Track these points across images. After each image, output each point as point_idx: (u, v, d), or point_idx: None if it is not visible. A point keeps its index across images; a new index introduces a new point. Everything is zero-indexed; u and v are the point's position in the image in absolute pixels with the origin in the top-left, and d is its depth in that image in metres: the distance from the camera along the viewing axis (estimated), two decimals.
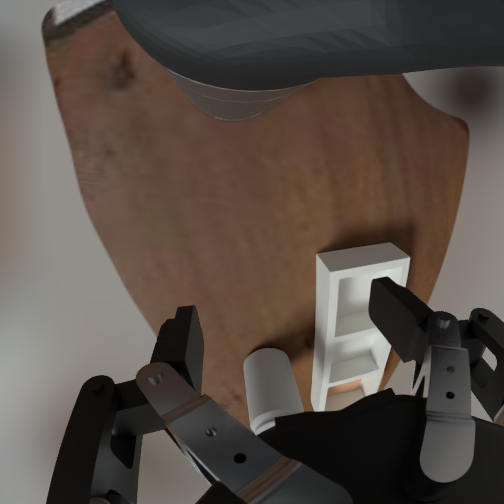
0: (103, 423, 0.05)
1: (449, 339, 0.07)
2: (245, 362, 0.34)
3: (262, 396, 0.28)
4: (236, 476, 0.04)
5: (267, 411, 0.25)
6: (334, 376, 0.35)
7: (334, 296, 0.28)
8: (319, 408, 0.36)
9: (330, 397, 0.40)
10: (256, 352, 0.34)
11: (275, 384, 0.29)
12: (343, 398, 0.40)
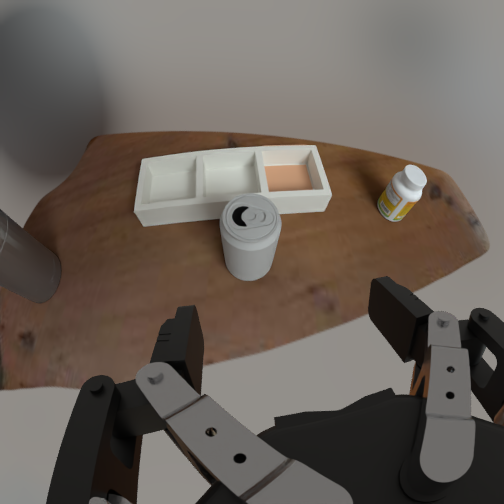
0: (103, 423, 0.05)
1: (448, 339, 0.07)
2: (237, 277, 0.36)
3: (224, 245, 0.30)
4: (236, 476, 0.04)
5: (221, 234, 0.28)
6: (260, 189, 0.39)
7: (154, 205, 0.36)
8: (308, 195, 0.37)
9: (315, 190, 0.42)
10: (227, 267, 0.36)
11: None
12: (313, 176, 0.42)
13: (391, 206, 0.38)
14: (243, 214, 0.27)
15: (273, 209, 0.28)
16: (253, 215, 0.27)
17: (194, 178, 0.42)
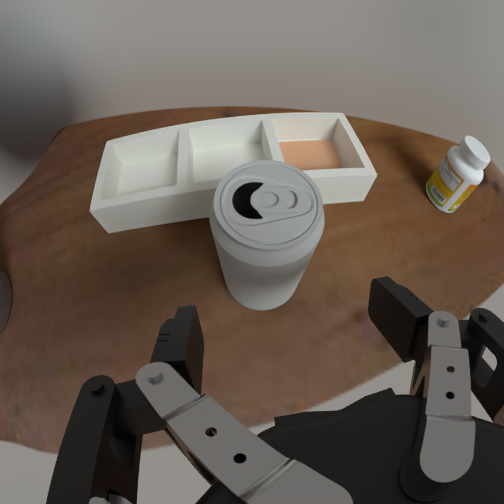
0: (103, 423, 0.05)
1: (448, 339, 0.07)
2: (246, 305, 0.22)
3: (220, 258, 0.16)
4: (236, 476, 0.04)
5: (214, 236, 0.14)
6: None
7: (116, 200, 0.23)
8: (344, 175, 0.24)
9: None
10: (229, 290, 0.23)
11: None
12: (345, 153, 0.28)
13: (448, 191, 0.25)
14: (254, 196, 0.14)
15: (309, 186, 0.14)
16: (272, 197, 0.14)
17: (178, 162, 0.29)
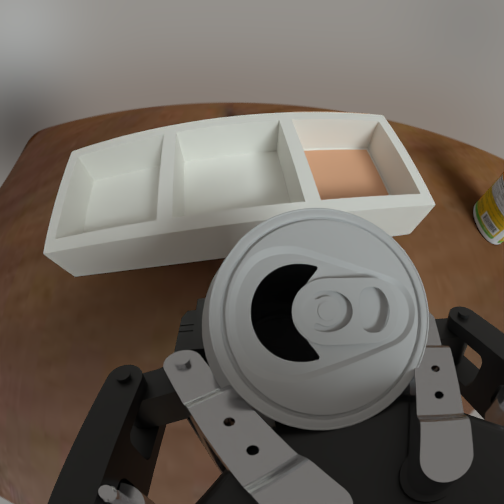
0: (126, 413, 0.06)
1: None
2: None
3: None
4: (236, 476, 0.04)
5: None
6: (298, 195, 0.18)
7: (75, 239, 0.15)
8: (397, 205, 0.16)
9: (392, 195, 0.21)
10: None
11: None
12: (387, 169, 0.21)
13: (502, 221, 0.17)
14: (299, 303, 0.06)
15: (404, 271, 0.07)
16: (339, 305, 0.06)
17: None
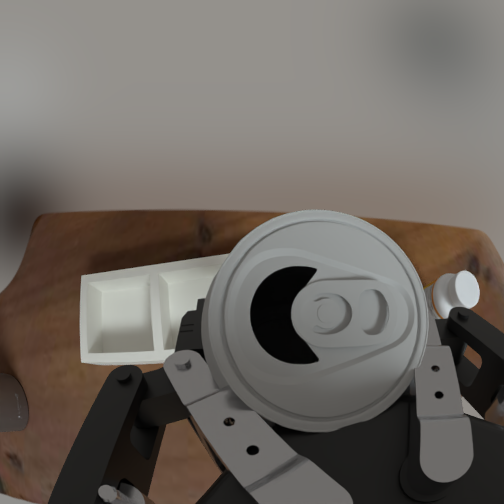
0: (126, 413, 0.06)
1: (427, 337, 0.07)
2: None
3: None
4: (236, 476, 0.04)
5: (213, 377, 0.07)
6: None
7: (103, 356, 0.24)
8: None
9: None
10: None
11: None
12: None
13: None
14: (298, 305, 0.06)
15: (403, 273, 0.07)
16: (338, 307, 0.06)
17: None
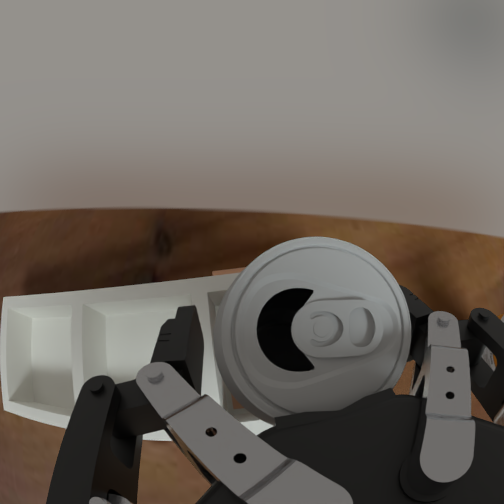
0: (103, 423, 0.05)
1: (448, 338, 0.07)
2: None
3: None
4: (236, 476, 0.04)
5: (224, 382, 0.08)
6: None
7: (23, 409, 0.12)
8: None
9: None
10: None
11: None
12: None
13: None
14: (297, 322, 0.07)
15: (390, 292, 0.08)
16: (331, 323, 0.07)
17: None
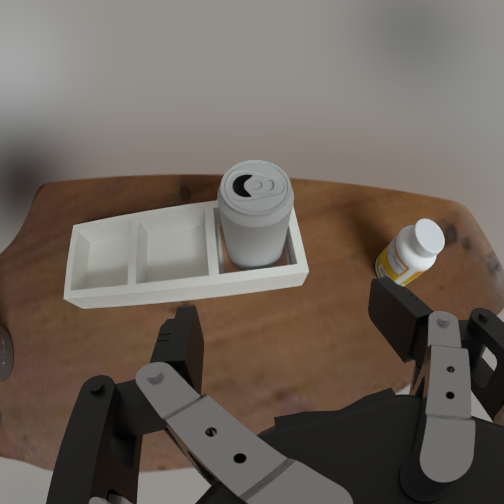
0: (103, 423, 0.05)
1: (448, 339, 0.07)
2: (242, 268, 0.30)
3: (224, 226, 0.24)
4: (236, 476, 0.04)
5: (220, 209, 0.22)
6: None
7: (83, 292, 0.26)
8: (274, 275, 0.27)
9: (289, 257, 0.32)
10: (229, 257, 0.31)
11: None
12: (287, 237, 0.32)
13: (393, 274, 0.28)
14: (246, 183, 0.22)
15: (283, 177, 0.22)
16: (258, 184, 0.22)
17: None
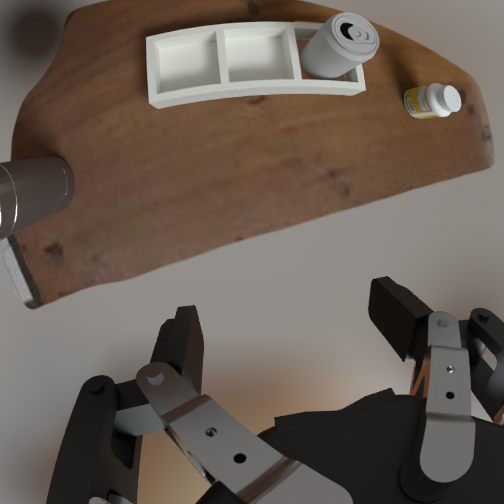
0: (103, 423, 0.05)
1: (448, 339, 0.07)
2: (314, 76, 0.30)
3: (321, 50, 0.23)
4: (236, 476, 0.04)
5: (327, 41, 0.21)
6: (291, 73, 0.29)
7: (172, 93, 0.28)
8: (342, 87, 0.29)
9: (346, 74, 0.31)
10: (303, 66, 0.30)
11: (314, 41, 0.24)
12: None
13: (418, 109, 0.32)
14: (349, 29, 0.20)
15: (373, 32, 0.20)
16: (358, 32, 0.20)
17: (211, 50, 0.29)
